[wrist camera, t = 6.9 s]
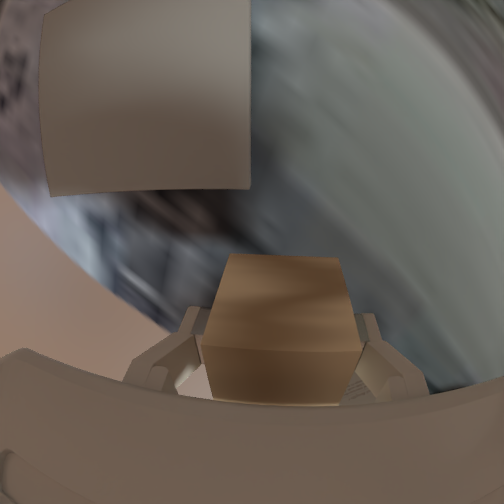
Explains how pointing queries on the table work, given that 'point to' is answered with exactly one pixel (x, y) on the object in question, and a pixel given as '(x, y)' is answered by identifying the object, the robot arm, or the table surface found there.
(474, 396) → the robot arm
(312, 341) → the birch block
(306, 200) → the table surface
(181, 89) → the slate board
